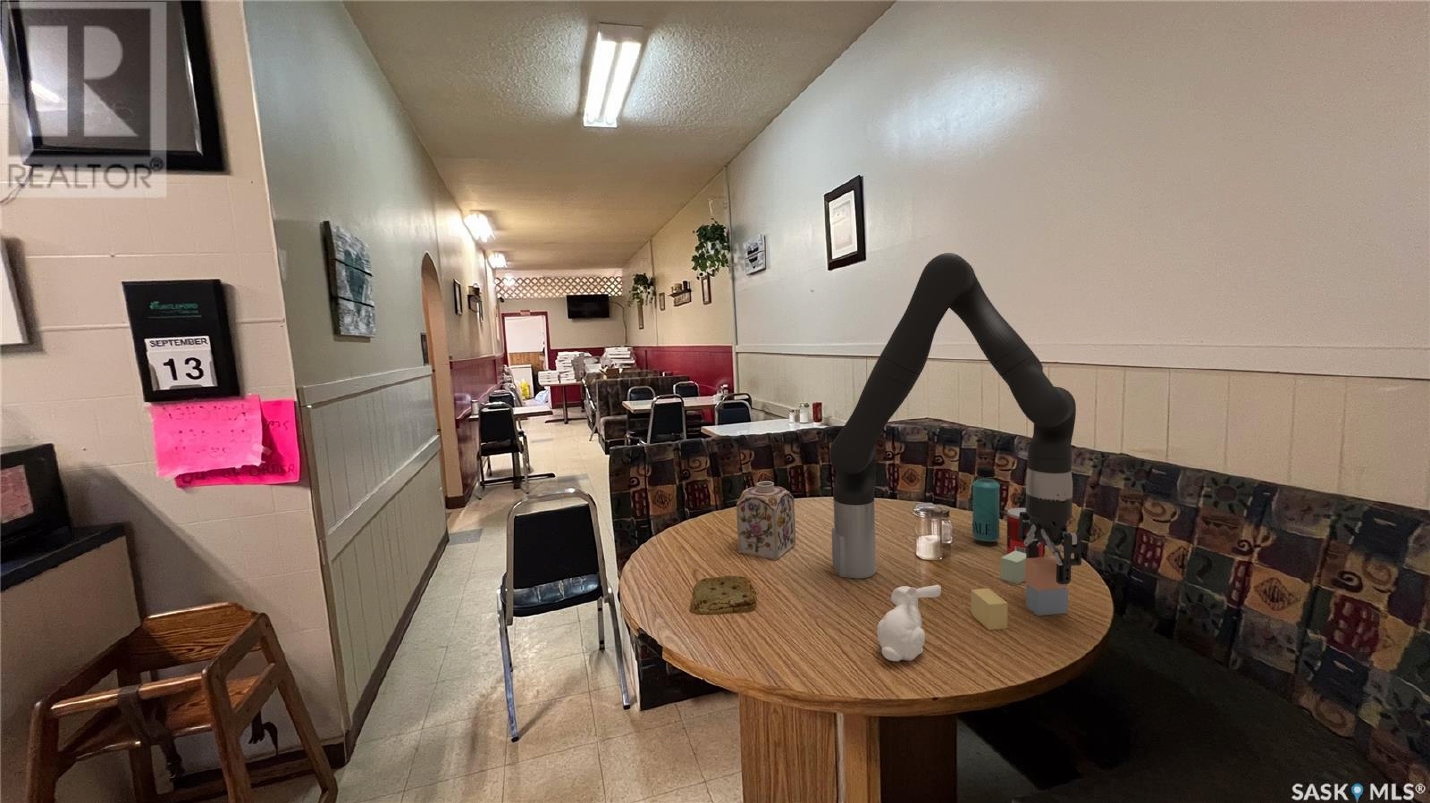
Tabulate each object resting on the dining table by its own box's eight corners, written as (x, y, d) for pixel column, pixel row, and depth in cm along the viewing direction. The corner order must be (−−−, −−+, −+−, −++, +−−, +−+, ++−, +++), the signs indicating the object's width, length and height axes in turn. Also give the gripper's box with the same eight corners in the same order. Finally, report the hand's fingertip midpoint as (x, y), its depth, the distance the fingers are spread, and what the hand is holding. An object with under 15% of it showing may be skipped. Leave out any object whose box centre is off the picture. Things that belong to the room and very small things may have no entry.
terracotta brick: (1036, 590, 102) (1037, 565, 102) (1025, 582, 106) (1025, 558, 105) (1066, 588, 103) (1067, 563, 102) (1053, 580, 106) (1054, 555, 106)
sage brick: (1017, 584, 116) (1017, 562, 115) (1001, 579, 119) (1001, 557, 118) (1031, 576, 119) (1031, 554, 119) (1015, 571, 122) (1015, 550, 122)
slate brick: (1037, 615, 103) (1038, 590, 102) (1026, 606, 106) (1026, 582, 106) (1067, 612, 103) (1068, 588, 103) (1054, 604, 107) (1055, 580, 106)
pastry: (723, 575, 129) (722, 563, 128) (779, 597, 116) (779, 584, 116) (667, 602, 117) (666, 589, 116) (723, 630, 104) (722, 615, 104)
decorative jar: (797, 545, 144) (794, 479, 142) (778, 561, 134) (775, 491, 132) (757, 538, 150) (754, 475, 148) (736, 553, 141) (733, 486, 139)
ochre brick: (1007, 628, 99) (1007, 602, 99) (989, 630, 99) (989, 604, 98) (988, 612, 105) (988, 588, 105) (971, 613, 105) (971, 589, 104)
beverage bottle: (997, 538, 141) (998, 464, 139) (1002, 548, 135) (1002, 470, 133) (970, 537, 143) (970, 463, 141) (973, 546, 137) (973, 469, 135)
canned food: (1052, 562, 126) (1052, 516, 124) (1017, 563, 126) (1017, 518, 125) (1033, 549, 133) (1034, 506, 132) (1000, 551, 133) (1001, 508, 132)
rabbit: (892, 628, 101) (892, 567, 100) (945, 643, 95) (945, 579, 94) (867, 660, 92) (866, 593, 90) (924, 679, 86) (923, 608, 84)
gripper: (1006, 483, 109) (1006, 560, 111) (1056, 504, 95) (1054, 592, 97) (1042, 481, 110) (1040, 557, 111) (1096, 501, 96) (1094, 588, 97)
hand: (1047, 573), depth 104 cm, fingers open, 8 cm apart
